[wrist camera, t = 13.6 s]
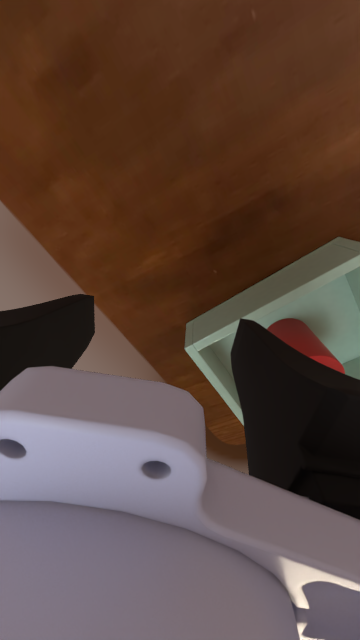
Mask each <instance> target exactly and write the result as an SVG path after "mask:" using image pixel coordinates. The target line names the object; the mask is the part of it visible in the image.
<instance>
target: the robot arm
mask: <svg viewBox="0 0 360 640" xmlns="http://www.w3.org/2000/svg"><path fill="white" fill-rule="evenodd" d="M94 326H95V324H94V296H90V295H84V294H78V295H72V296H68V297H64V298H60V299H56V300H52V301H49V302H45V303H41V304H36V305H32V306H28V307H23V308H18V309H13V310H7V311H0V640H360V380H359V379H356V378H353V377H351V376H348V375H346V374H343V373H341V372H339V371H336V370H334V369H332V368H330V367H328V366H325V365H323V364H321V363H319V362H317V361H315V360H313V359H312V358H310V357H308V356H306V355H304V354H302V353H301V352H299V351H297V350H296V349H294V348H293V347H291V346H290V345H288V344H286V343H285V342H284V341H282V340H281V339H279V338H278V337H276V336H275V335H274V334H272V333H271V332H270V331H268V330H267V329H266V328H264V327H263V326H261V325H260V324H258V323H257V322H255V321H253V320H248V319H242V318H240V321H239V324H238V328H237V331H236V335H235V338H234V342H233V346H232V349H231V353H230V354H231V367H232V373H233V377H234V381H235V385H236V389H237V393H238V397H239V401H240V405H241V410H242V415H243V422H244V429H245V437H246V447H247V457H248V468H249V475H248V474H245V473H243V472H240V471H238V470H236V469H233V468H231V467H228V466H226V465H223V464H221V463H219V462H216V461H213V460H211V459H209V458H206V434H205V420H204V411H203V407H202V406H201V405H200V404H199V403H198V402H197V401H196V399H195V398H194V397H193V396H192V395H191V394H190V393H189V392H188V391H185V390H182V389H180V388H177V387H174V386H171V385H169V384H166V383H162V382H156V381H149V380H142V379H136V378H129V377H122V376H115V375H109V374H102V373H95V372H88V371H82V370H75V369H72V367H73V366H74V365H75V363H76V362H77V361H78V359H79V358H80V357H81V355H82V354H83V352H84V351H85V350H86V348H87V347H88V345H89V343H90V341H91V339H92V337H93V335H94V333H95V327H94Z"/></svg>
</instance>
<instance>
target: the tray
mask: <svg viewBox="0 0 360 640" xmlns="http://www.w3.org/2000/svg"><path fill="white" fill-rule="evenodd" d="M240 318H242V319H248V320H253V321H255V322H257V323H258V324H260V325H261V326H263V327H264V328H266V329H267V328H268V327H269V326H270V325H271V324H273V323H274V322H276V321H278V320H281V319H286V318H293V319H298V320H300V321H302V322H304V323H305V324H306V325H307V326H308V327H309V328H310V330H311V331H312V332H313V333H314V334H315V335H316V336H317V337H318V338H319V340H320V341H321V342H322V343H323V344H324V345H325V346H326V347H327V348H328V350H329V351H330V352H331V353H332V354H333V355H334V356H335V357H336V358H337V360H338V361H339V362H340V363H341V364H342V366H343V367H344V370H345V374H346V375H348V376H351V377H353V378H356V379H359V380H360V242H358V241H354V240H350V239H346V238H342V237H337V238H335V239H334V240H332V241H330V242H328V243H327V244H325V245H323V246H321V247H320V248H318V249H316V250H314V251H313V252H311V253H309V254H307V255H306V256H304V257H302V258H300V259H299V260H297V261H295V262H293V263H292V264H290V265H288V266H286V267H285V268H283V269H281V270H279V271H278V272H276V273H274V274H272V275H271V276H269V277H267V278H265V279H264V280H262V281H260V282H258V283H257V284H255V285H253V286H251V287H250V288H248V289H246V290H244V291H243V292H241V293H239V294H237V295H236V296H234V297H232V298H230V299H229V300H227V301H225V302H223V303H222V304H220V305H218V306H216V307H215V308H213V309H211V310H209V311H208V312H206V313H204V314H202V315H200V316H199V317H197V318H195V319H193V320H192V321H190V322H188V323H186V335H185V348H184V349H185V350H186V351H187V353H188V354H189V355H190V357H191V358H192V359H193V361H194V362H195V363H196V364H197V366H198V367H199V368H200V370H201V371H202V372H203V374H204V375H205V376H206V377H207V379H208V380H209V381H210V383H211V384H212V385H213V387H214V388H215V389H216V390H217V392H218V393H219V394H220V396H221V397H222V398H223V400H224V401H225V402H226V403H227V405H228V406H229V407H230V409H231V410H232V411H233V412H234V414H235V415H236V416H237V418H238V419H239V420H240V422H241V423H242V424H243V425H244V422H243V415H242V410H241V405H240V401H239V397H238V393H237V389H236V385H235V381H234V377H233V373H232V367H231V354H230V353H231V349H232V346H233V342H234V338H235V335H236V331H237V328H238V324H239V321H240Z"/></svg>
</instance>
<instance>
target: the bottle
mask: <svg viewBox="0 0 360 640" xmlns="http://www.w3.org/2000/svg"><path fill="white" fill-rule="evenodd" d="M267 330H268V331H270V332H271V333H272V334H274V335H275V336H276V337H278V338H279V339H281V340H282V341H284V342H285V343H286V344H288V345H290V346H291V347H293V348H294V349H296V350H297V351H299V352H301V353H302V354H304V355H306V356H308V357H310V358H312V359H313V360H315V361H317V362H319V363H321V364H323V365H325V366H328V367H330V368H332V369H334V370H336V371H339V372H341V373H343V374H345V370H344V367H343V366H342V364H341V363H340V362H339V361H338V360H337V358H336V357H335V356H334V355H333V354H332V353H331V352H330V351H329V350H328V348H327V347H326V346H325V345H324V344H323V343H322V342H321V341H320V340H319V338H318V337H317V336H316V335H315V334H314V333H313V332H312V331H311V330H310V328H309V327H308V326H307V325H306V324H305V323H304V322H302V321H300V320H298V319H293V318H286V319H281V320H278V321H276V322H274V323H273V324H271V325H270V326H269V327H268V328H267Z"/></svg>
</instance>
